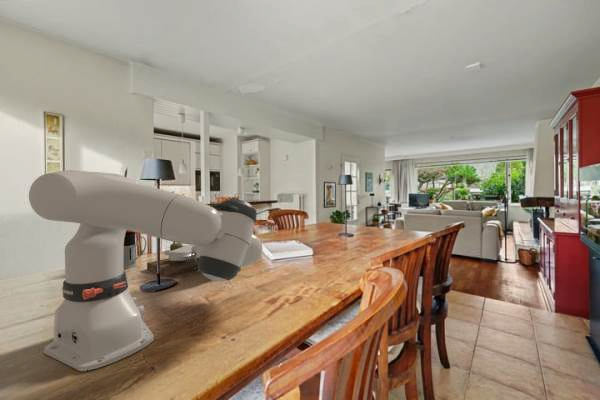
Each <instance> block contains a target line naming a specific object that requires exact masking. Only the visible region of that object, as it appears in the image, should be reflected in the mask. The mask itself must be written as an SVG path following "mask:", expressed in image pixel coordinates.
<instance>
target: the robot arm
mask: <svg viewBox="0 0 600 400" xmlns="http://www.w3.org/2000/svg"><path fill="white" fill-rule="evenodd" d="M28 200H29V204H30V207H31V209H32V210H33V211H34V213H36V215H37V216H39V217H41V218H42V219H45V220H46V221H47V220H48V221H55V222H64V223H65V222H66V223H74V224H79V226H78V229H77V231H76V233H75V234H74V236H73V237H72V238H71V239H70V240H69V241H68V242H67V243H66V245H65V248H64V270H65V271H64V274H65V275H64V277H65V278H64V280H63V282H62V286H61V287H62V288H61V289H62V290H61V291H62V297H63V298H64V299H63V300H62V303H61V304H60V305H59V306H58V307H57V308H56V309H55V311H54V320H53V323H54V324H53V325H54V326H53V341H52V342H50V343H49V344H47V345H46V346H45V347H44V349H43V353H44V354H45V355H46V356H49V357H51V358H53V359H55V360H57V361H59V362H60V363H63V364H65V365H67V366H69V367H71V368H73V369H75V370H77V371H79V372H87V370H88V371H92V370H95V369H99V368H102V367H105V366H108V365H111V364H113V363H115V362H118V361H120V360H122V359H125V358H126V357H129V356H131V355H133V354H135V353H137V352H139V351H141V350H143V349H144V348H146V347H148V345H150V344H151V343H152V342H154V340H155V336H154V334H153V332H152V331H151V329H150V328H149V327H148V325H147V324H146V323H145V321H144V320H143V319H142V316H144V315H145V312H146V311H145V306H144V305H139V306H138V305H137V304H136V303H137V297H135V296H134V297H133V295H132V293H131V292H130V290H129V285H128V284H129V283H128V277H127V274H126V273H127V272H126V271H125V269H124V238H125V233H126V232H127V231H128V232H135V233H139V234H142V235H146V236H150V237H154V238H157V239H161V240H164V241H169V242H173V243H181V244H182V245H183V247H181V248H178V249H175V250H172V251H171V250H170V249H169V250H165V251H164V255H165V256H168V258H169V260H171V261H184V260H188V259H191V258H193V259H194V260H195V261H196V262H198V268H197V269H198V271H199V273H200V274H201V275H203V276H204V278H206V279H209V280H211V281H214V282H226V281H231V280H233V279H234V278H235V277H236V276H237V275H238V273H239V272H240V273H241V270H242V268H244V267H248V266H251V265H254V264H255V263H257V262H258V260H259V259H260V257H262V254H263V245H262V243H263V242H262V241H261V239H260V238H259V237H258V236H257V235H255V234H253V231H254V227H255V224H256V223H257V214H258V213H257V210H256V208H255V207H254V206H253V204H251V203H249V202H247V201H245V200H243V199H237V198H228V199H225V200H222V201H221V202H220V203H214V204H213V206H211V205H209V204H206V203H204V202H202V201H199V200H197V199H195V198H191V197H189V196H185V195H184V194H183V195H182V194H178V193H175V192H171V191H168V190H164V189H160V188H158V187H153V186H150V185H145V184H138V183H136V181H134V180H133V179H131V178H128V177H126V176H124V175H121V174H119V173H118V174H117V173H109V172H101V171H100V172H97V171H85V170H73V169H70V170H61V171H54V172H49V173H44V174H42V175H40V176H38V177H37V178H36V179H35V180H34V181H33V182H32V184H31V185H30V188H29V191H28ZM184 244H185V245H184Z"/></svg>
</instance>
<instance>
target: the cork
mask: <svg viewBox="0 0 600 400" xmlns="http://www.w3.org/2000/svg"><path fill="white" fill-rule="evenodd" d="M183 246H184V244H183V243H177V242H173V243H171V244H170V246H169V250H171V251H172V250H175V249H178V248H181V247H183ZM179 263H183V261H171V260H170V265H174V264H179Z"/></svg>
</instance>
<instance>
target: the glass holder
mask: <svg viewBox="0 0 600 400" xmlns="http://www.w3.org/2000/svg"><path fill="white" fill-rule="evenodd" d="M140 238H142V239H143V240H144V248H143V250H142V252H141V253H140V254H139V255H138V256H137V246H138V244H139V240H140ZM146 248H147V239H146V237H144V236H139V237H137V238H136V232H134V231H126V233H125V238H124V270H128V269H133V268H136V267H137V266H138V263H137V259H139V258H140V257H141V256H142V255H143V254H144V253H145V251H146Z"/></svg>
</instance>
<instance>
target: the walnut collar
mask: <svg viewBox="0 0 600 400" xmlns="http://www.w3.org/2000/svg"><path fill="white" fill-rule="evenodd" d="M159 260H160V274H159V275H161V276H164V277H171V276H174V275H179V274H182V273H185V272H191V271H194V270H197V269H198V262H196V261H195V260H194V259H193V258H191V259H188V260H184V261H183V263H179V264H174V265H170V260H169V257H167V258H162V259H159ZM146 269H147V271H150V272H153V273H156V274H158V273H157V260H153V261H150V262H147V263H146Z"/></svg>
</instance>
